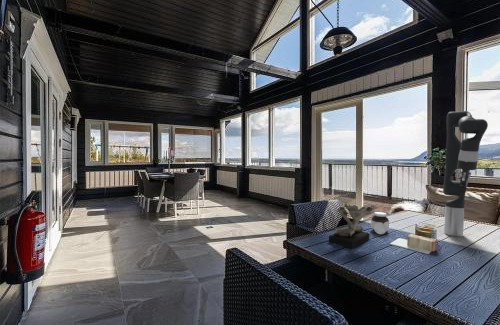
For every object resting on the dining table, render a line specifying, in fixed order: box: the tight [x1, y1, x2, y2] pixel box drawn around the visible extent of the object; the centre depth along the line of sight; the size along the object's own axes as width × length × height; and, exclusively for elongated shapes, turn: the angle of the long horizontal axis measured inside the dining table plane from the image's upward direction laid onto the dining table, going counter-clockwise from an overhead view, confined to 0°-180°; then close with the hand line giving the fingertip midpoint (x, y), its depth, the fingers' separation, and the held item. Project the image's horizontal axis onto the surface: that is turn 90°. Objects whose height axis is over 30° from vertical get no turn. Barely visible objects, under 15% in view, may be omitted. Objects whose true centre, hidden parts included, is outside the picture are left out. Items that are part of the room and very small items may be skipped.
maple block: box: [406, 233, 437, 252], centre depth 138 cm, size 5×5×12 cm
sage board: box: [389, 237, 433, 255], centre depth 141 cm, size 14×18×1 cm
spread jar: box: [370, 211, 390, 235], centre depth 165 cm, size 12×11×12 cm
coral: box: [328, 203, 378, 250], centre depth 146 cm, size 25×20×22 cm
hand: (462, 192), depth 134 cm, fingers closed
